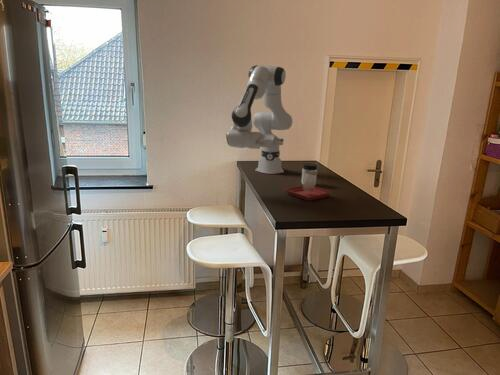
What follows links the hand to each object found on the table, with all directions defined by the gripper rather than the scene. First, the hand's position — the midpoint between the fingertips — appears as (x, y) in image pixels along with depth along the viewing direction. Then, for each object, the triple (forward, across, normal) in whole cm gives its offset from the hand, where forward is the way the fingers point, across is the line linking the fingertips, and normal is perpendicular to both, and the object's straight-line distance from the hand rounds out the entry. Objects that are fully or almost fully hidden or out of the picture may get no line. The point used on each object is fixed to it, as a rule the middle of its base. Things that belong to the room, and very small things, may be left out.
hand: (283, 141), depth 203 cm
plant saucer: (+15, 0, +29) cm, 32 cm away
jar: (+16, +24, +28) cm, 40 cm away
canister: (+15, 0, +25) cm, 29 cm away
